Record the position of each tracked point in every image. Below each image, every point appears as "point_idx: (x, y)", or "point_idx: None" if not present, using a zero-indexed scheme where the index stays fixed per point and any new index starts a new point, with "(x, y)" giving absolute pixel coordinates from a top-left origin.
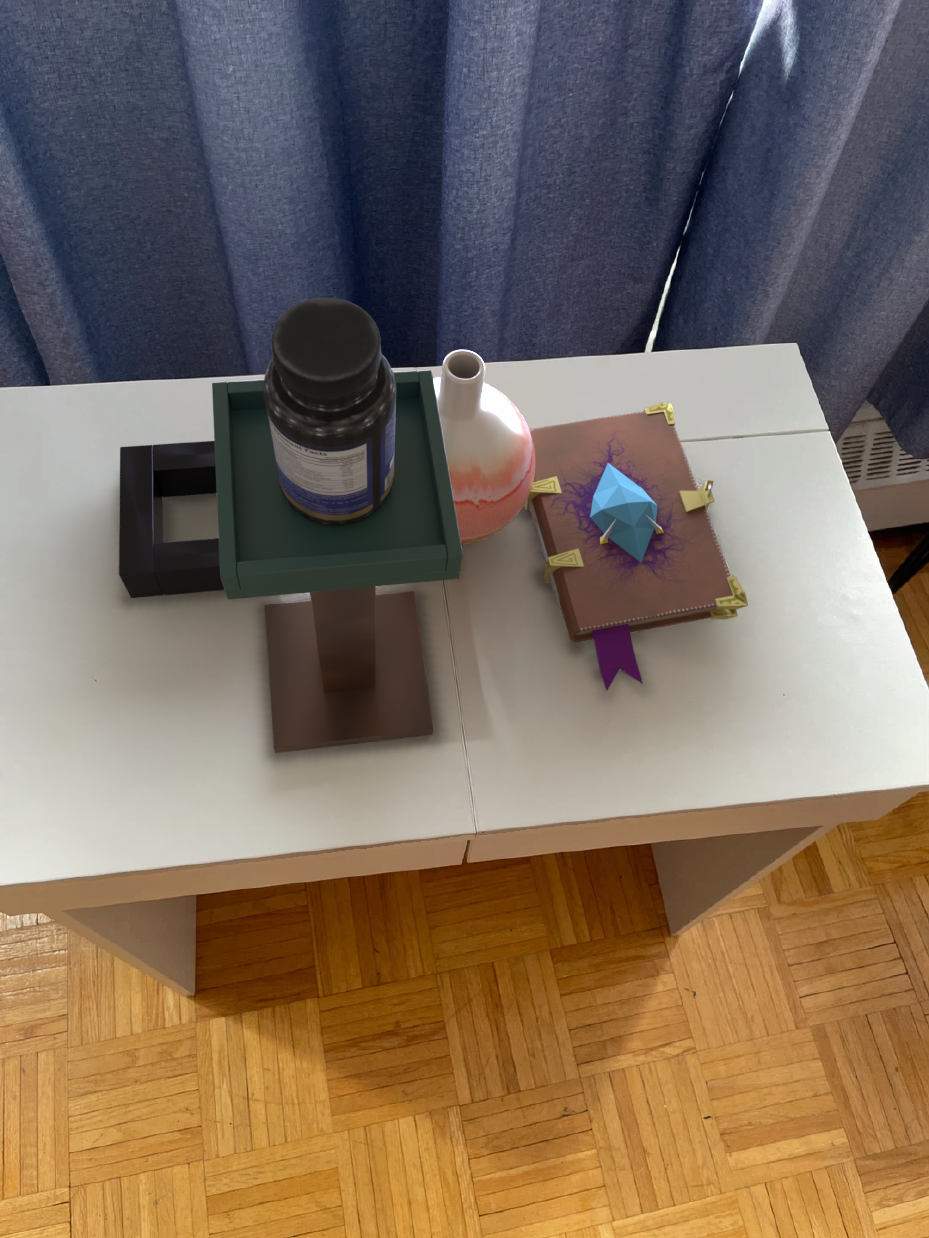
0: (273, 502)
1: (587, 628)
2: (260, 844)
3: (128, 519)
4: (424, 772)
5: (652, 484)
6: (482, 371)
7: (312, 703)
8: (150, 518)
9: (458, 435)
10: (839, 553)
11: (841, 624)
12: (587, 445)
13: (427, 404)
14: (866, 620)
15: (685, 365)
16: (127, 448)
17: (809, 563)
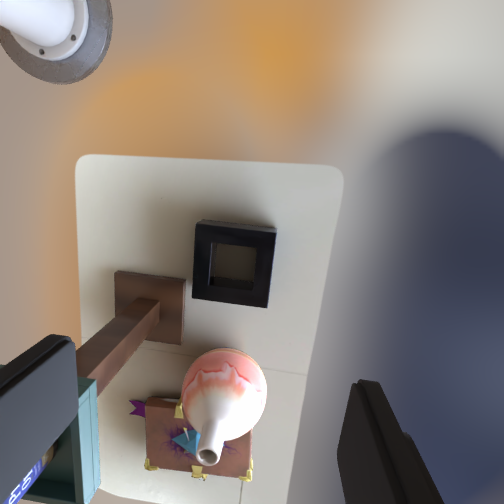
0: None
1: (145, 408)
2: (80, 257)
3: (228, 231)
4: (103, 325)
5: None
6: (201, 463)
7: (132, 292)
8: (227, 242)
9: (199, 420)
10: (178, 499)
11: (147, 486)
12: (236, 440)
13: (58, 502)
14: (147, 494)
15: (285, 486)
16: (274, 236)
17: (175, 487)
